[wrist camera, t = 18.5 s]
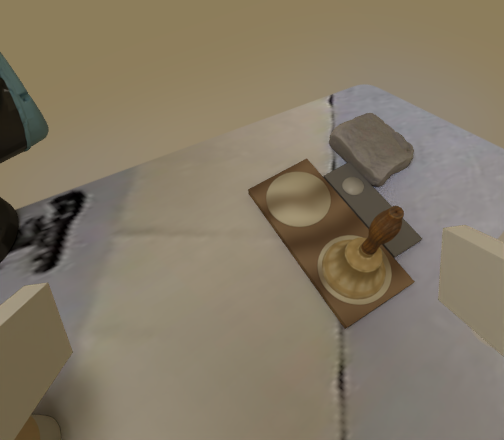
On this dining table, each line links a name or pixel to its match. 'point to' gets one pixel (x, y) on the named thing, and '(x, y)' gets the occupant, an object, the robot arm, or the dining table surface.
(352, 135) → the stone block
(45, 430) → the coffee cup
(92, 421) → the dining table surface
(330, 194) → the board
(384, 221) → the hand bell
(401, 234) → the pattern card
